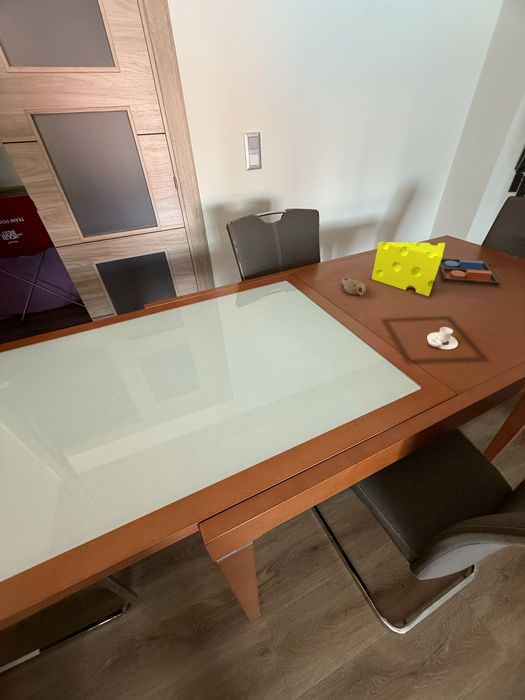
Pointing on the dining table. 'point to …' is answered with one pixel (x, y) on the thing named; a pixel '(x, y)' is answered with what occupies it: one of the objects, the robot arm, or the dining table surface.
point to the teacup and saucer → (442, 339)
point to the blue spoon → (464, 264)
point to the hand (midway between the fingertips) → (515, 194)
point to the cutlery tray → (447, 278)
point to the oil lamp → (354, 286)
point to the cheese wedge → (408, 265)
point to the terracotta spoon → (471, 274)
